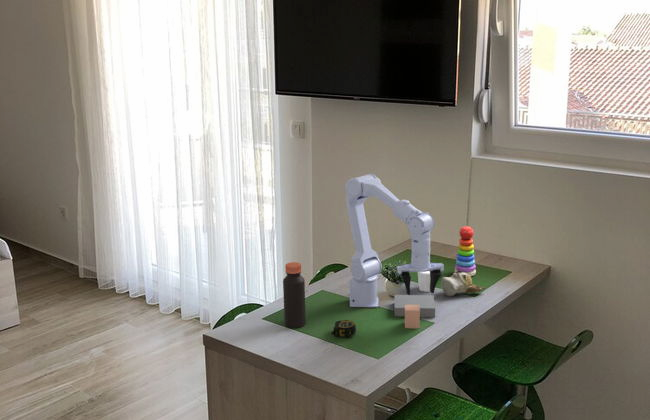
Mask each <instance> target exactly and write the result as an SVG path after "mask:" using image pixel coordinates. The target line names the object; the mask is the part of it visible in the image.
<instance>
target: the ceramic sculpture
mask: <svg viewBox="0 0 650 420" xmlns="http://www.w3.org/2000/svg"><path fill="white" fill-rule="evenodd" d="M441 277H442V276H441ZM441 288H442V292H443V293H444V295H445V296H447V297H453V296H454V295H455V294H461V295H462V294H466V293H470V294H476V293H479V292H481V291H484V289H486V288H485V287H483V286H479V285H477V284H473V279H472V276H469V275H468V274H466V273H463V272H461V271H460V270H459V271H456V272H453V273H452V275H451V276H449V277H447V276H443V277H442V278H441Z"/></svg>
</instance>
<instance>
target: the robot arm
mask: <svg viewBox="0 0 650 420" xmlns="http://www.w3.org/2000/svg"><path fill="white" fill-rule="evenodd" d="M344 189H345V194H346V195H345V204H346V209H347V214H348V219H349V224H350V230H351V235H352V240H353V246H354V251H355V252H354V254H353V255H352V257H351V258H350V262H351V266H350V272H351V273H350V274H351V276H352V277H350V278H349V294H348V299H349V307H350V308H379V297H378V278H379V274H380V273H381V272H382V269H383V266H382V262H381V261H380V259H379V255H378V252H377V251H375V250H373V249H372V245H371V240H370V239H371V238H370V233H369V228H368V223H367V222H368V221H367V218H366V213H365V208H364V206H365V205H364V203H365V202H366V200H368V197H375V198H376V199H378V200H380V201H381V202H382V203H384V204H385V205H387V206H388V207H390V209H391V208H392V214H393V215H394V216H395V217H397V218H398V219H399V220H401V221H402V222H403V223H404V224H406V225H407V228H408V231H409V232H410V238H411V255H410V257H411V262H410V263H407V264H403V265H397V266H396V273H397V274H399V275H400V276H401V278H402V280H403V283H404V286H405V292H406V295H411V282H412V281H411V279H412V277H411V275H410V274H411V273H418V272H427V271H430V292H429V293H431V294H434V293H435V290H436V286H437V284H438V282H439V280H440V278H441V277H442V272H444V271H445V270H444V269H445V265H444V264H443V263H442V262H439V263H437V262H431V231H433V229H434V227H435V220H434V217H433V216H432V215H431V214H430V213H429V212H423V211H421V210H420V209H418V208H417V207H415V206H414V205H413V204H411V202H410V201H409V200H408V199H401V200H400V199H399V198H398V197H396V195H395V194H393V193H392V191H390V190H389V189H388V188H387V187H386V186H385V185H383V183H382V182H381V179H380V178H378V177H377V176H376V175H375V174H373V173H367V174H365V175H362V176H361V175H360V176H357V177H352V178H351V177H350V179H349V180H348V181H347V182H346V183H345V185H344Z"/></svg>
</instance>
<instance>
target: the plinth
mask: <svg viewBox="0 0 650 420" xmlns="http://www.w3.org/2000/svg"><path fill="white" fill-rule="evenodd" d="M405 305H419V307H420V318H436V305H435V297H434V295H433V294H432V295H431V294H429V295H424V294H423V295H422V294H421V295H420V294H410V295H407V294H394V317H405Z"/></svg>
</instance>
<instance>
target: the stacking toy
mask: <svg viewBox="0 0 650 420" xmlns="http://www.w3.org/2000/svg"><path fill="white" fill-rule="evenodd" d="M459 236H460V239H459V245H458V249H457V254H456V259H455V263H456V264H455V268H454V272H456V271H459V270H460V271H461V272H463V273H466V274H468V275H469V276H470V277H472V276H475V275H476V274H477V270H476V268H477V267H476V264H475V263H476V260H475V254H474V253H475V250H474V248H475V246H474V240H473V239H472V238H473V236H474V229H473V228H471V227H470V226H468V225H467V226H462V227H461V228H460V229H459ZM454 272H453V273H454Z"/></svg>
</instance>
